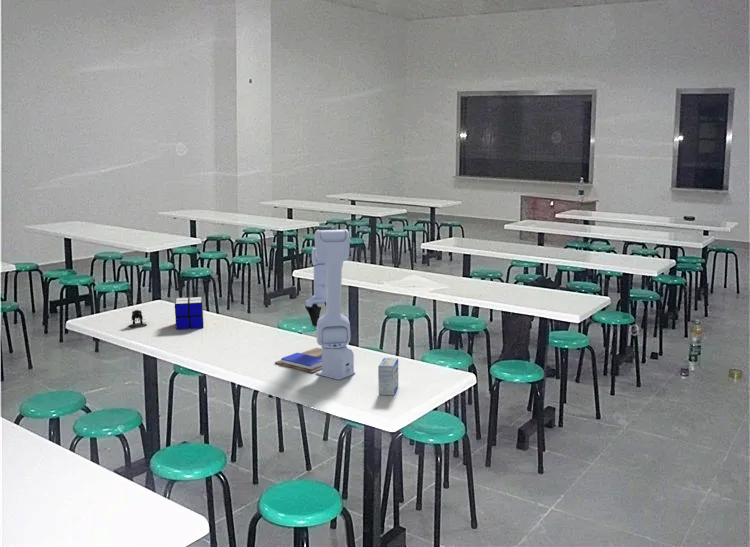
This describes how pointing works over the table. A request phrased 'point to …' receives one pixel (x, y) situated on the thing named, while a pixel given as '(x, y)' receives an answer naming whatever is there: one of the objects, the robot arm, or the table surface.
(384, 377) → the medicine box
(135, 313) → the toy robot
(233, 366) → the table surface
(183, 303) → the puzzle cube
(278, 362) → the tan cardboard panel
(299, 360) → the hard drive
